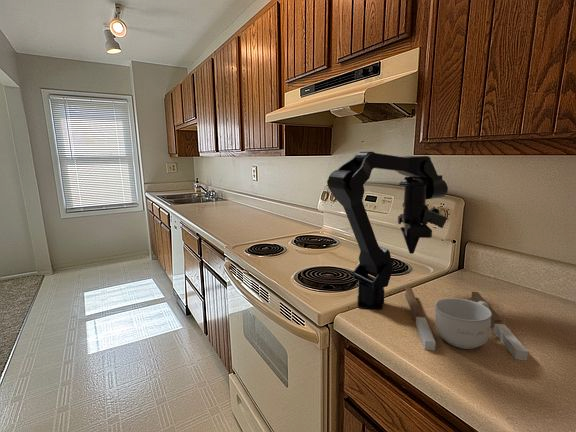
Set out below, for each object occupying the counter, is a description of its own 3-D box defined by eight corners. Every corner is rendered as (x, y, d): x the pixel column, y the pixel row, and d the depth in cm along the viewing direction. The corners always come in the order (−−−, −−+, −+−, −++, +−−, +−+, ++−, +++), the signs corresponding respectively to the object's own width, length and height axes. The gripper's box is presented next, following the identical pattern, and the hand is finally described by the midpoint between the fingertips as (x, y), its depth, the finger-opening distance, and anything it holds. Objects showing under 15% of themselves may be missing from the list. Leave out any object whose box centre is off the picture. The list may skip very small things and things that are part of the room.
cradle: (414, 322, 75) (415, 312, 75) (405, 295, 90) (405, 287, 89) (501, 329, 71) (502, 320, 71) (476, 300, 86) (477, 292, 85)
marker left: (424, 349, 65) (425, 341, 64) (415, 324, 74) (416, 316, 74) (434, 350, 64) (435, 342, 64) (424, 325, 74) (425, 317, 74)
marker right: (515, 359, 61) (516, 350, 61) (493, 331, 71) (494, 323, 70) (526, 360, 61) (528, 351, 60) (503, 332, 70) (504, 324, 70)
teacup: (458, 360, 61) (461, 323, 60) (421, 330, 72) (424, 299, 70) (512, 347, 65) (517, 313, 63) (470, 321, 75) (473, 291, 74)
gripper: (456, 206, 76) (450, 265, 79) (436, 196, 94) (433, 245, 97) (408, 206, 79) (405, 263, 82) (398, 196, 96) (396, 243, 100)
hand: (411, 253), depth 90 cm, fingers closed
